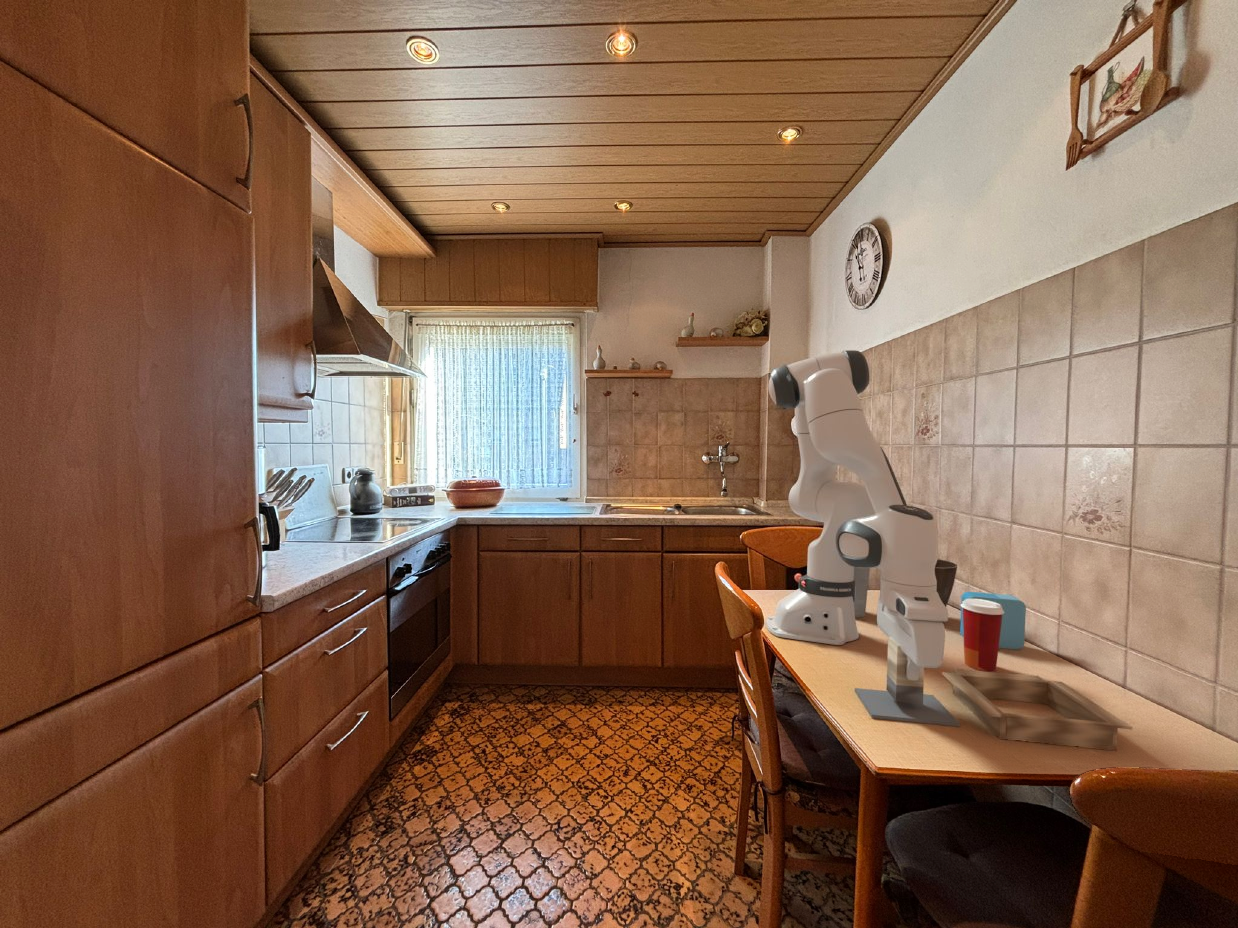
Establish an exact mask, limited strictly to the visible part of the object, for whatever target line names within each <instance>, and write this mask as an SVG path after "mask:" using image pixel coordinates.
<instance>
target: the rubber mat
mask: <svg viewBox="0 0 1238 928" xmlns="http://www.w3.org/2000/svg"><path fill="white" fill-rule="evenodd" d="M854 692H855V694H856V696H857V697H858V699H859V701H860V702H861V703H862V705H863V706H864V708H865V710H866V711H867V713H868V715H869V716H870V717H871V718H872V719H878V720H879V719H880V720H887V721H889V720H890V721H899V722H909V723H919V724H929V725H939V726H940V725H941V726H948V727H950V726H951V727H959V726H961V723H960V722H959V721H958V720H957V718H955V715H953V714H952V713H951V712H950V711H949V710H948V709H947V708H946V707H945V705H943V704H942V702H940V701H939V699H937V698H936V696H935V695H933V694H925V693H923V704H919V703H908V702H897V701H895V700H894V699H893V697H892V696H891V695H890V693H889V692H888V691H887V690H883V689H882V690H881V689H880V690H879V689H872V688H871V689H870V688H869V689H868V688H859V687H856V688H855V687H854Z"/></svg>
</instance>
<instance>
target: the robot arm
mask: <svg viewBox="0 0 1238 928" xmlns="http://www.w3.org/2000/svg"><path fill="white" fill-rule="evenodd" d="M870 377H871V370H870V365H869V362H868V361H867V358H866V357H865V355H864V353H862V352H860V351H859V350H853V349H852V350H851V349H850V350H842V351H841V352H833V353H832V352H831V353H826V354H825V353H824V354H820V355H814V356H813V357H810V358H806V359H802V360H799V361H797V362H796V361H795V362H793V363H789V364H788V365H787V364H782V365H781V366H779V367H776V368H775V369H773V370H772V371H771V373H770V374H769V380H768V386H767V387H768V393H769V396H770V399H771V400H772V402H773V403H774V405H775V406H776V407H778V409H779V408H780V409H781V410H794V422H795V429H796V430H795V431H796V436H797V441H798V448H799V457H800V469H799V475H798V479H797V480H796V483H794V484H793V485H792V487H791V489H790V491H789V494H788V505H789V507H790V510H791V511H792V512H793V513H794V514H796V515H798V516H800V517H802V518H805V520H809V521H815V522H817V523H818V522H819V523H823V528H822V531H821V534H820V535H819V537H818V538H815V539H814V540H813V541H811V542H810V543H809V545H808V546H807V547H808V548H807V565H806V567H807V569H806V574H805V575H802V574H801V573H796V574H795V575H794V580H795V581H796V582H797V583H798V589H796V590H794V591H793V592H791V593H790V594H788V595H786V596H785V597H783V598H781V599H780V600H778V603H777V605H776V608H775V611H774V612H775V613H774V615H770V616H768V617H767V618H766V621H765V626H766V628H767V630H768V632H769V633H770V634H772V635H774V636H776V637H778V638H783V639H792V640H799V641H806V642H813V643H819V644H829V645H835V646H842V645H844V644H845V643H847V642H852V641H855V640H857V639H858V638H859V637H860V634H859V631H858V627H857V621H856V617H855V613H854V601H855V595H856V585H855V580H854V567H858V568H874V569H877V570H879V572H880V579H879V580H880V581H879V582H880V583H879V584H880V585H879V586H880V587H879V597H878V602H877V603H878V604H877V615H876V623H877V624H876V625H877V626H878V628H879V630H880V631H882V632H883V634H885V635H886V636H887V637H891V638H892V639H893V640H894V641H895V642H896V643H897V644H898V645H899V646H900V649H901V650H902V651H903V652H904V653H905V654H906V655H907V660H908V663H907V667H905V672H904V674H905V676H906V677H907V678H908V679H909V680H915V681H916V680H918V679H919V670H920V668H921V667H924V669H925V668H927V669H939V668H940V667H941V666H942V664H943V661H944V653H945V643H946V628H945V625H944V623H943V622H948V620H949V611H948V608H947V606H946V607H945V605H944V604H943V602H942V601H941V599H940V597H939V594H938V592H936V590H937V580H936V577H935V565H936V563H937V560H938V559H939V557H938V556H939V535H938V526H937V522H936V519H935V517H934V515H933V514H931V513H930V512H929V511H927V510H925V509H923V508H920V507H917V506H912V505H907V502H906V500H905V497H904V494H903V491H902V490H901V487H900V484H899V482H898V480H897V477H896V475H895V472H894V469H893V468H892V465H891V463H890V459H888V457H887V454H886V452H885V451H884V449H883V448H882V447H881V446H880V444H879V443H878V442H877V440H876V438H875V437H874V434H873V433H872V431H871V428H870V427H869V424H868V421H867V418H866V416H865V413H864V410H863V409H864V408H863V406H862V402H861V399H860V396H859V394H863V392H864V391H865V390H866V389H867V387H868V386H869V384H870ZM838 466H841V467H843V468H845V469H847V470H849V471H850V472H852V473H853V474H855V476H856V477H858V478H859V479H860V481H862V483H863V484H861V483H857V482H849V481H839V480H837V469H838Z"/></svg>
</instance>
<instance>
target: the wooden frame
mask: <svg viewBox="0 0 1238 928" xmlns="http://www.w3.org/2000/svg"><path fill="white" fill-rule="evenodd" d="M941 672H942V673H941V674H942V676H944V677H945V678H946V680H948V682H950V683H951V684H952V694H953V696H955V697H956V698H957V699H958V700H959V701H960V703H962V702H963V703H962V704H963V705H964V704H965V705H966V706H965V705H964V706H965V707H966V708H967V707H968V708H969V709H970V710H971V711H972V712H973V713H972V712H971V713H972V714H973V715H974V716H975V717H977V718H978V719H979V720H980V721H981V722H982V723H983V724H984V725H985V726H986V727H987V726H988V727H987V728H988V729H989V730H990V731H991V732H992V733H993V734H994V735H995V736H996V737H997V736H998V737H997V738H999V740H1005V739H1008V741H1015V740H1022V741H1021V742H1025V741H1029V743H1035V742H1041V743H1040V744H1045V743H1051V744H1050V745H1055V744H1056V745H1058V746H1065V745H1066V746H1067V747H1075V746H1079V747H1078V748H1086V749H1087V748H1088V749H1097V750H1104V751H1105V750H1106V751H1107V750H1108V751H1116V752H1117V751H1118V748H1117V747H1118V730H1119V729H1121V730H1122V729H1123V730H1133V726H1132V725H1130V724H1128V723H1127V722H1126V721H1123V720H1122V719H1121V718H1119V717H1118V716H1116V715H1115V714H1113V713H1111V712H1110V711H1108V710H1107V709H1105V708H1103V707H1102V706H1100V705H1099V704H1098V703H1095V702H1094V701H1092V700H1091V699H1089V698H1088V697H1087V696H1085V695H1083V694H1082V693H1080V692H1078V691H1077V690H1075V689H1074V688H1073V687H1071V686H1069V685H1068V684H1066V683H1065V682H1063V681H1054V680H1045V679H1043V678H1042V677H1041V676H1039V675H1033V674H1032V675H1030V674H1021V673H1020V674H1018V673H1009V672H1008V673H1006V672H994V671H992V672H987V671H980V670H969V669H959V668H958V669H957V668H956V669H955V668H953V669H952V672H944V671H941ZM990 699H993V700H1002V701H1014V702H1025V703H1026V702H1027V703H1037V704H1046V705H1048V706H1050V708H1052V709H1054V710H1055V711H1057V712H1058V713H1059V714H1060V715H1062V716H1063V717H1053V716H1042V715H1032V714H1022V713H1009V712H1004V711H1002V710H1001V709H1000V708H999V707H997V705H995V704H994V703H993V702H991V701H990ZM968 708H967V709H968ZM969 709H968V710H969ZM970 710H969V711H970ZM1024 740H1025V741H1024Z"/></svg>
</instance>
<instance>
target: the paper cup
mask: <svg viewBox="0 0 1238 928" xmlns="http://www.w3.org/2000/svg"><path fill="white" fill-rule="evenodd" d="M962 603H963V604H961V603H960V608H961V607H963V634H964V637H963V655H964V656H963V657H964V664H965V666H967V667H969V668H971V669H974V670H975V671H983V672H994V671H996V670H997V665H998V664H997V663H998V655H999V640H1000V632H1001V624H1002V614H1004V611H1003V610H1002V606H1001V605H1000V604H998V603H995V602H992V601H988V600H982V599H965V600H964V601H963V602H962Z"/></svg>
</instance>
